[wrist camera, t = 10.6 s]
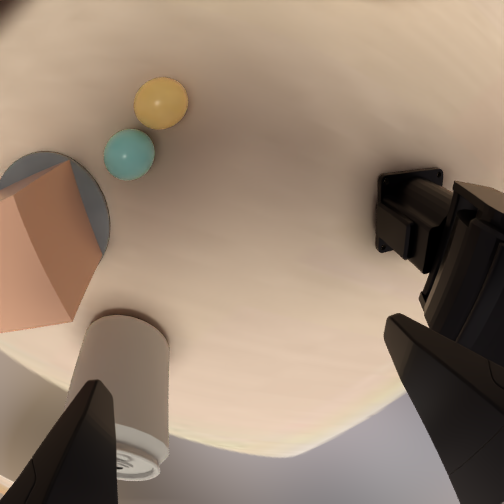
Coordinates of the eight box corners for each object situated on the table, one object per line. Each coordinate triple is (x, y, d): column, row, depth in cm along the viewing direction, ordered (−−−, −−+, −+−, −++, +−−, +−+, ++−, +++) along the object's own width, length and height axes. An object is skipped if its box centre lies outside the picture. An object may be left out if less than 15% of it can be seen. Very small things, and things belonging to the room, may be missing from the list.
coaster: (85, 130, 15) (83, 131, 15) (129, 266, 20) (128, 269, 20) (-19, 179, 15) (-22, 180, 14) (28, 290, 20) (26, 293, 19)
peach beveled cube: (69, 159, 16) (12, 195, 10) (102, 255, 19) (72, 321, 13) (-4, 192, 15) (-62, 235, 9) (30, 274, 19) (-8, 334, 13)
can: (72, 333, 22) (38, 452, 12) (124, 292, 21) (93, 433, 11) (132, 377, 26) (124, 489, 16) (187, 346, 25) (195, 475, 15)
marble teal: (152, 120, 16) (143, 124, 13) (162, 166, 18) (156, 179, 15) (106, 134, 16) (90, 141, 13) (118, 178, 17) (105, 193, 15)
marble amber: (184, 74, 15) (181, 68, 12) (192, 120, 17) (192, 124, 14) (135, 86, 15) (123, 84, 12) (144, 132, 16) (134, 138, 14)
